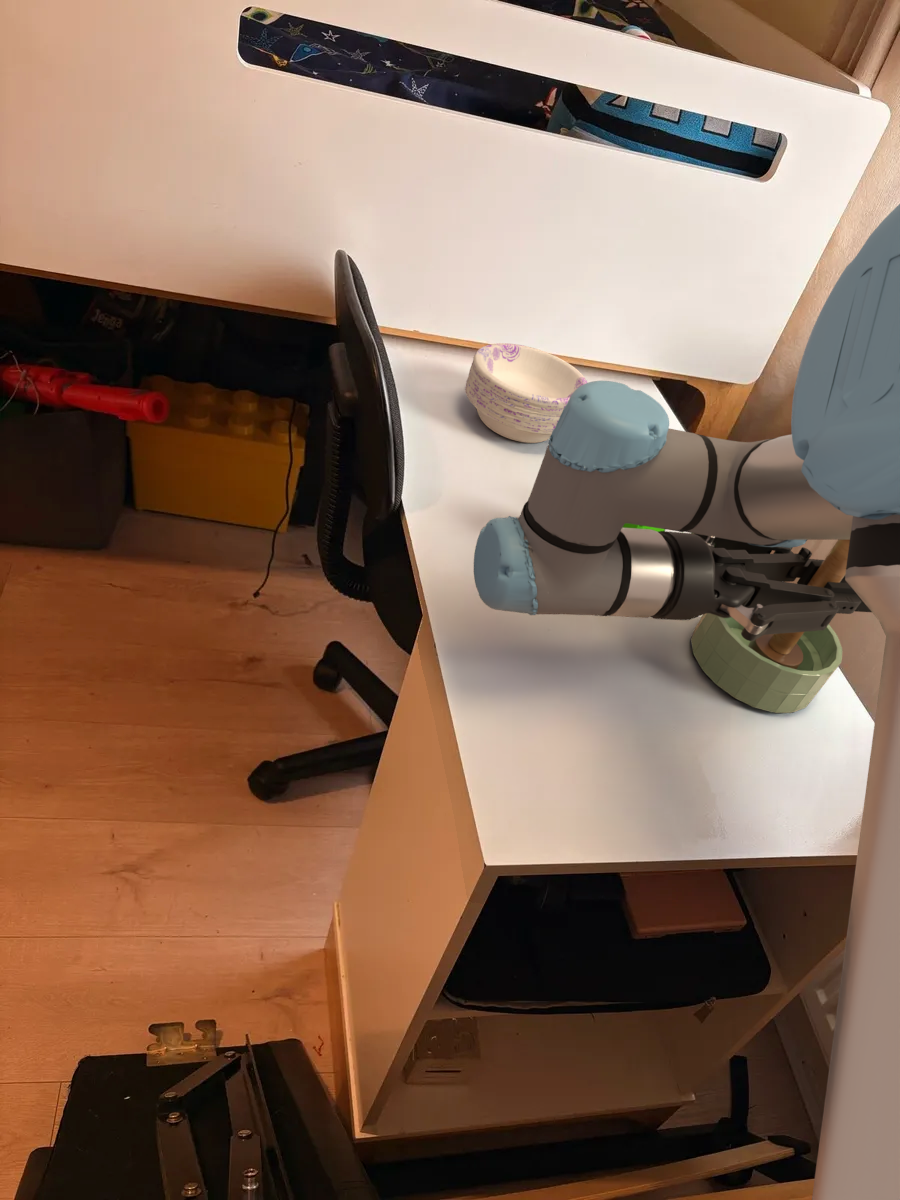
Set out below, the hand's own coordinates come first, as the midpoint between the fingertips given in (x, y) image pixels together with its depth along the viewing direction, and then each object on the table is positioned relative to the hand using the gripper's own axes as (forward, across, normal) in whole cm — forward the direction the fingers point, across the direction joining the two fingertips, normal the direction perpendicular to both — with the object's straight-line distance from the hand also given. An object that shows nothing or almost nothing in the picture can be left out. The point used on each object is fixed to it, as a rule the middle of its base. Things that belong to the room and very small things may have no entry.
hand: (869, 588), depth 84 cm
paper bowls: (-19, -45, -13) cm, 50 cm away
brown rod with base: (-6, 0, -10) cm, 11 cm away
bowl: (-5, -2, -13) cm, 14 cm away
